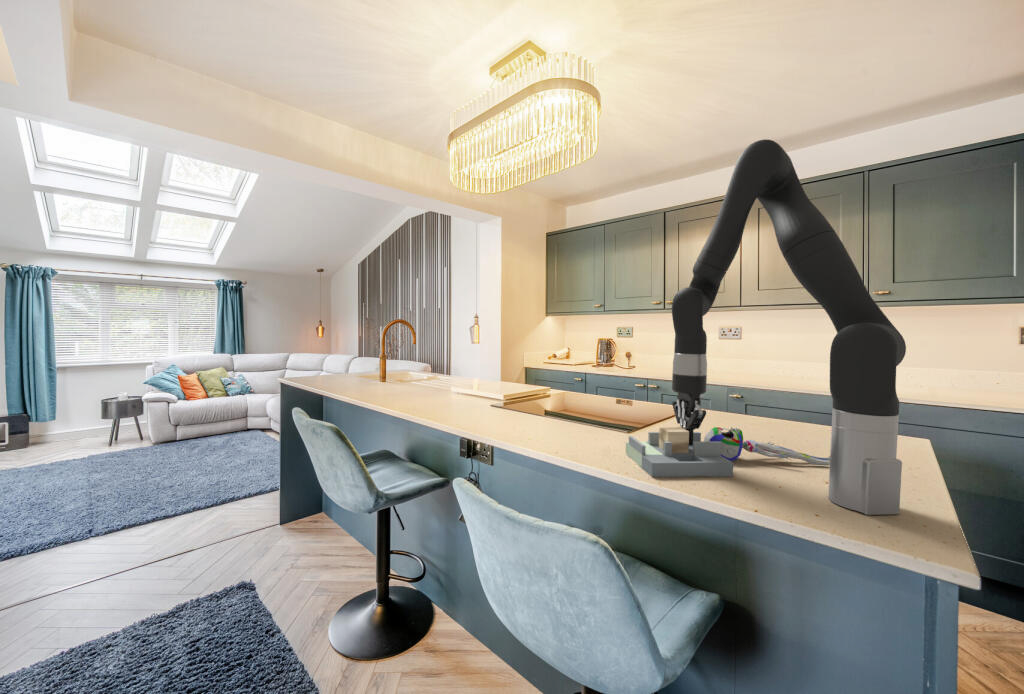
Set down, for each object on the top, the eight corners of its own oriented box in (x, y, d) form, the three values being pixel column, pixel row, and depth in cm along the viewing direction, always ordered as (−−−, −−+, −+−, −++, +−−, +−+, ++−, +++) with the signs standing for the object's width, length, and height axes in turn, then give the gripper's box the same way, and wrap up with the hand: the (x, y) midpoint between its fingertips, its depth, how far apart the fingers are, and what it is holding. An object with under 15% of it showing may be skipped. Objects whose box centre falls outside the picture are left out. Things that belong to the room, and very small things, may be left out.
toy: (856, 453, 94) (715, 427, 99) (848, 490, 94) (708, 462, 99) (830, 442, 104) (703, 418, 109) (822, 475, 104) (697, 450, 109)
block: (688, 452, 98) (689, 431, 98) (667, 452, 98) (668, 431, 97) (678, 446, 103) (679, 426, 103) (658, 446, 103) (659, 426, 102)
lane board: (732, 476, 91) (733, 448, 91) (651, 476, 90) (652, 449, 90) (694, 453, 108) (695, 429, 108) (625, 453, 107) (626, 430, 107)
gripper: (719, 375, 94) (716, 452, 94) (691, 369, 107) (689, 437, 108) (686, 375, 93) (684, 452, 94) (662, 369, 106) (660, 437, 107)
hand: (686, 444), depth 101 cm, fingers closed
